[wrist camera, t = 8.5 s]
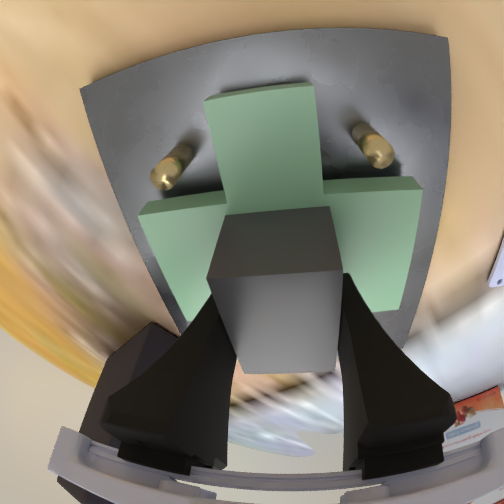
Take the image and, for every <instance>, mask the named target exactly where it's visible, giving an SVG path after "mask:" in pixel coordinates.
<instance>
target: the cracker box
mask: <svg viewBox="0 0 504 504" xmlns="http://www.w3.org/2000/svg"><path fill="white" fill-rule="evenodd" d="M454 406H455V410H456V414H457V420H456V421H455V423H454V424H453V425H452V426H451V427H450V428H449V429H447V430H446V431H445V432H444V439H445V441H444V443H442V447H443V453H444V452H447V451H450V450H454V449H457V448H460V447H463V446H466V445H469V444H472V443H474V442H477V441H480V440H481V439H482V438H483V437H485V436H486V435H488V434H490V433H492V432H494V431H496V430H498V429H501V428H503V427H504V405H503V401H502V397H501V394H500V390H499V387H498V386H497V387H495V388H493V389H490V390H488V391H486V392H483V393H481V394H478V395H476V396H473V397H471V398H468V399H466V400H463V401H460V402H457V403H454ZM467 504H504V486H503V487H501V488H499V489H497V490H495V491H493V492H491V493H489V494H487V495H485V496H483V497H481V498H478V499H476V500H474V501H472V502H470V503H467Z"/></svg>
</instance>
